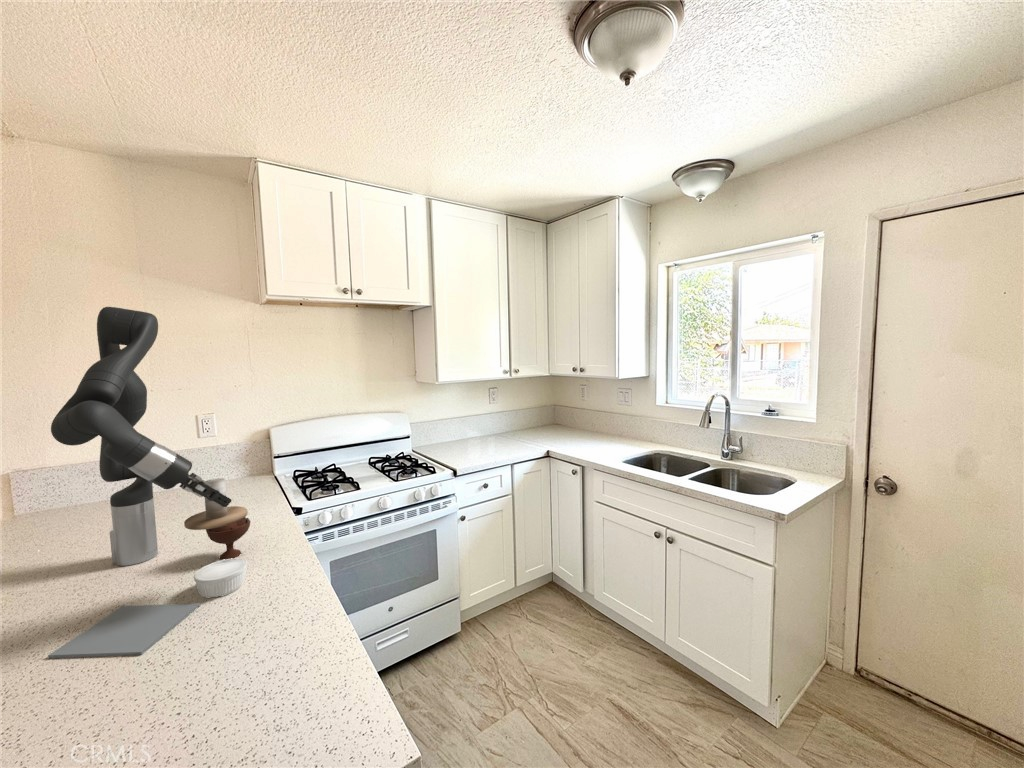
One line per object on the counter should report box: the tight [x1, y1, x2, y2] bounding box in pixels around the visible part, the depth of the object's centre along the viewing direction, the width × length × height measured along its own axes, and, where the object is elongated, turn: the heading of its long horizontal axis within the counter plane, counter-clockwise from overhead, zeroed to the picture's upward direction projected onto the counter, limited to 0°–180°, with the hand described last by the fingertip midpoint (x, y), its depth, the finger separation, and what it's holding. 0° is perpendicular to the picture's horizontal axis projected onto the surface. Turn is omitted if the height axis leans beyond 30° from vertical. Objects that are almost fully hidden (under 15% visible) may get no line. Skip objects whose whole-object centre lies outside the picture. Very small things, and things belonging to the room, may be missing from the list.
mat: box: [47, 602, 201, 659], centre depth 90 cm, size 18×16×1 cm
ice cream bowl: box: [205, 516, 251, 560], centre depth 122 cm, size 11×11×15 cm
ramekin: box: [193, 557, 249, 599], centre depth 105 cm, size 11×11×5 cm
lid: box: [183, 477, 249, 531], centre depth 104 cm, size 13×13×10 cm
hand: (224, 501), depth 106 cm, fingers closed on lid, 4 cm apart
